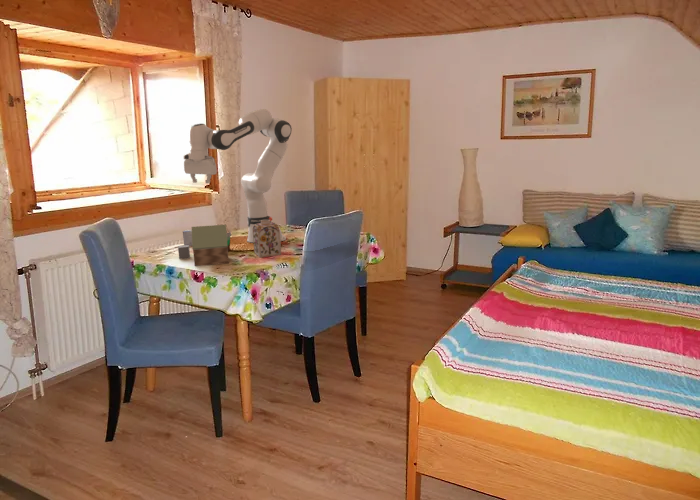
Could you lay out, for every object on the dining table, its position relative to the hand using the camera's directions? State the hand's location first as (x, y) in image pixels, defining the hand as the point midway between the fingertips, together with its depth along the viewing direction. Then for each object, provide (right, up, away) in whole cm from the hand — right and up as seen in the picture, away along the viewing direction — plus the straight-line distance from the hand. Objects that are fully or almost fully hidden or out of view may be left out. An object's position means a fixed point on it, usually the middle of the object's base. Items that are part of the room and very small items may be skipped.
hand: (201, 183), depth 282 cm
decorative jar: (+34, -37, 0) cm, 51 cm away
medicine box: (-13, -32, +27) cm, 44 cm away
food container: (+9, -36, +10) cm, 38 cm away
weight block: (-8, -39, -2) cm, 40 cm away
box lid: (+9, -29, -17) cm, 35 cm away
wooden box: (+9, -41, -13) cm, 43 cm away
